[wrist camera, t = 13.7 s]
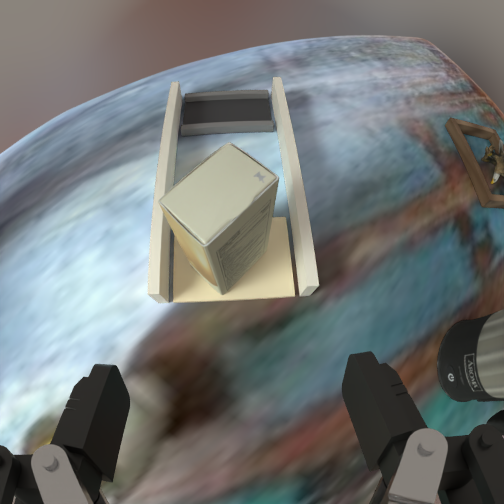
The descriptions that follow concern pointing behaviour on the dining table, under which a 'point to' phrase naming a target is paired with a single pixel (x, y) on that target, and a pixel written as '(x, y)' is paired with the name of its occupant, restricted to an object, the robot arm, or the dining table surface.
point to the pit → (226, 112)
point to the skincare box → (223, 214)
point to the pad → (254, 280)
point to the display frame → (469, 160)
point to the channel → (294, 189)
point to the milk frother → (475, 362)
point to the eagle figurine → (495, 160)
